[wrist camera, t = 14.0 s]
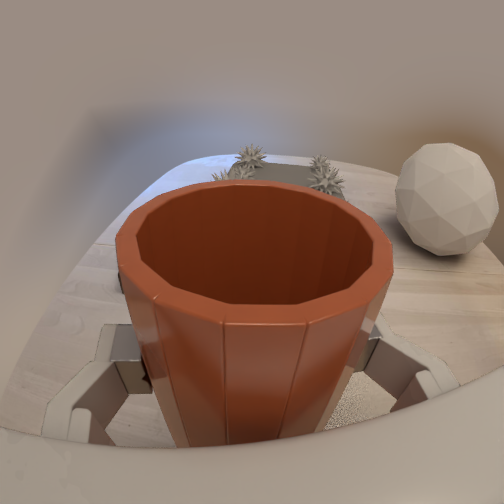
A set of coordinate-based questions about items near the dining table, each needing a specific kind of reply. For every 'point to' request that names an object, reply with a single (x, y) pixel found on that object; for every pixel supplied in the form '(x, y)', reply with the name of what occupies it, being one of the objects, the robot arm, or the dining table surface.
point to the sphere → (446, 199)
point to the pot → (251, 305)
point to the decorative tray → (285, 173)
